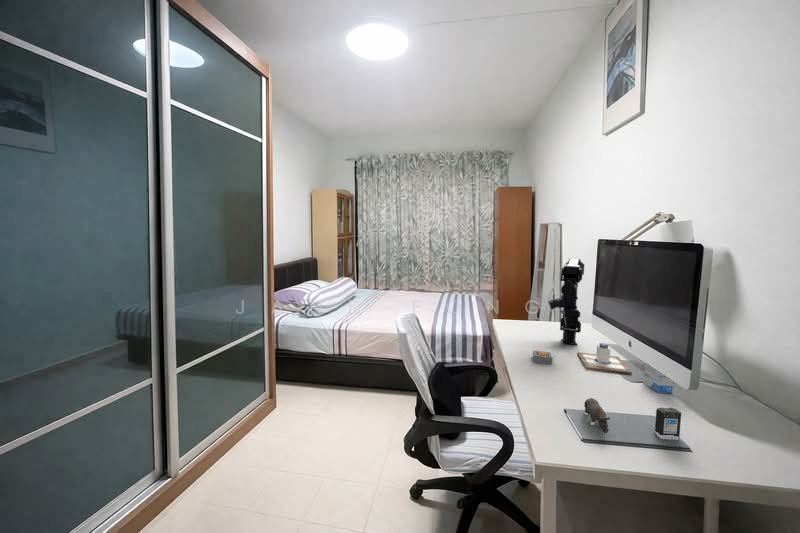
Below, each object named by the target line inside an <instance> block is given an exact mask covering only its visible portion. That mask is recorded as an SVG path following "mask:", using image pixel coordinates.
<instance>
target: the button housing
mask: <svg viewBox="0 0 800 533" xmlns="http://www.w3.org/2000/svg"><path fill="white" fill-rule="evenodd" d="M538 351H539V350H532V359H533V363H535V364H543V365H550V366H551V365H553V355H552V352H551V351H546V352H547V353H548V356H541V355H537V354H538ZM542 351H543V350H542ZM543 352H545V351H543Z"/></svg>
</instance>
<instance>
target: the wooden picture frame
mask: <svg viewBox="0 0 800 533" xmlns="http://www.w3.org/2000/svg"><path fill="white" fill-rule="evenodd" d="M596 354H597V353H589V352H580V351H578V352H577V356H578V359H579V360H580V362H581V363H582V365H583V367H584V368H585V370H588V371H596V372H604V373H605V372H606V373H613V374H614V373H615V374H620V373H622V375H628V374H633V372H632V371H631V370H630V369H629V367H628V366H627V365H626V364H625V363H624V362H623V360H622V359H621V358H620V357H619V356H616V355H610V361H609V363H601V362H598V361H597V359H596Z"/></svg>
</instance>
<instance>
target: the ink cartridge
mask: <svg viewBox="0 0 800 533" xmlns="http://www.w3.org/2000/svg"><path fill="white" fill-rule="evenodd" d="M681 422H682V412H681V411H679V410H678V409H676V408H673V407H657V408H656V410H655V424H654V425H655V426H654V432H655V431H656V432H658V433H659V434H660V435H674V436H678V437H679V438H680V436H681V435H680V433H681V432H680V431H681Z"/></svg>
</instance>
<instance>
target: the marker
mask: <svg viewBox="0 0 800 533" xmlns="http://www.w3.org/2000/svg"><path fill="white" fill-rule="evenodd" d="M595 354H596V359H597V361H598V362H601V363H609V361H610V356H611V348H610V347H609V344H608V343H604V342H603V343H601V342H600V343H599V345H596V353H595Z"/></svg>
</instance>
